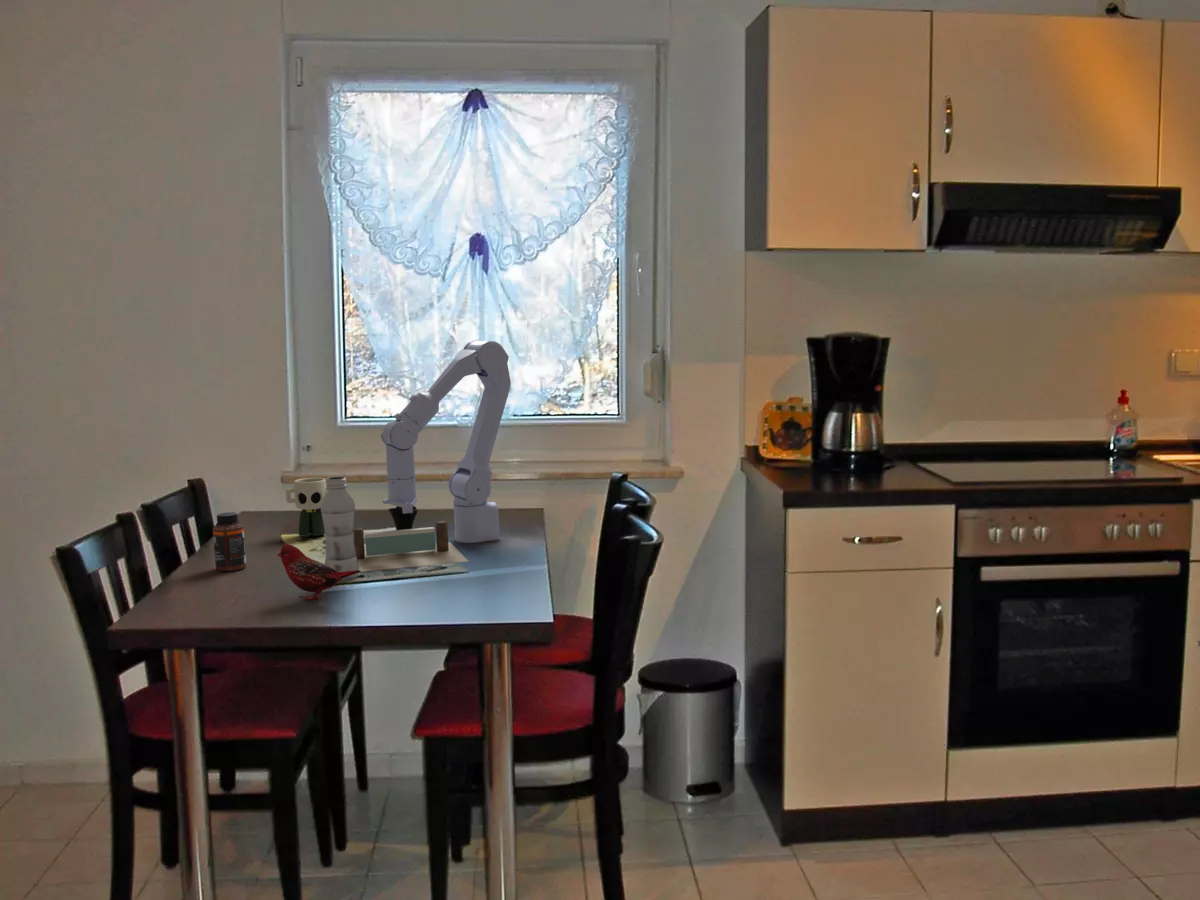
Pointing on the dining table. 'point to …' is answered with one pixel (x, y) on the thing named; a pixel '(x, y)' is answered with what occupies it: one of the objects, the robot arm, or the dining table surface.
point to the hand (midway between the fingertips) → (404, 541)
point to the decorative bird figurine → (309, 572)
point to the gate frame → (409, 553)
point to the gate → (400, 541)
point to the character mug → (309, 504)
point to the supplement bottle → (229, 543)
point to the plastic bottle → (339, 527)
